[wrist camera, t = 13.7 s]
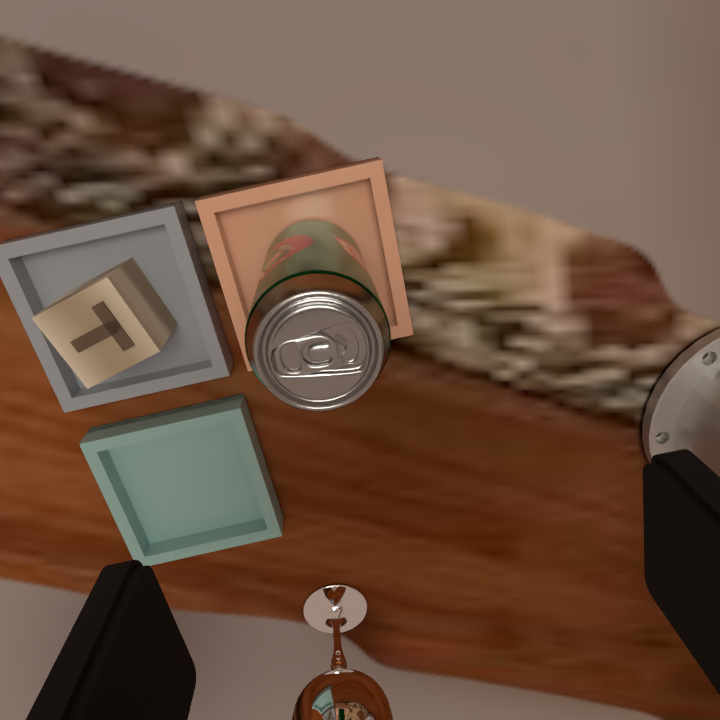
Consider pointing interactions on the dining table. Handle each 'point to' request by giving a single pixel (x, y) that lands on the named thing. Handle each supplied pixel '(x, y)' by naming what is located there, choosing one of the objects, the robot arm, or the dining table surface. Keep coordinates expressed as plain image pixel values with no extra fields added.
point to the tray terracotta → (296, 204)
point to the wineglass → (339, 663)
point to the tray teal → (185, 480)
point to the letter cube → (107, 323)
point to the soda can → (316, 320)
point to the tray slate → (97, 255)
